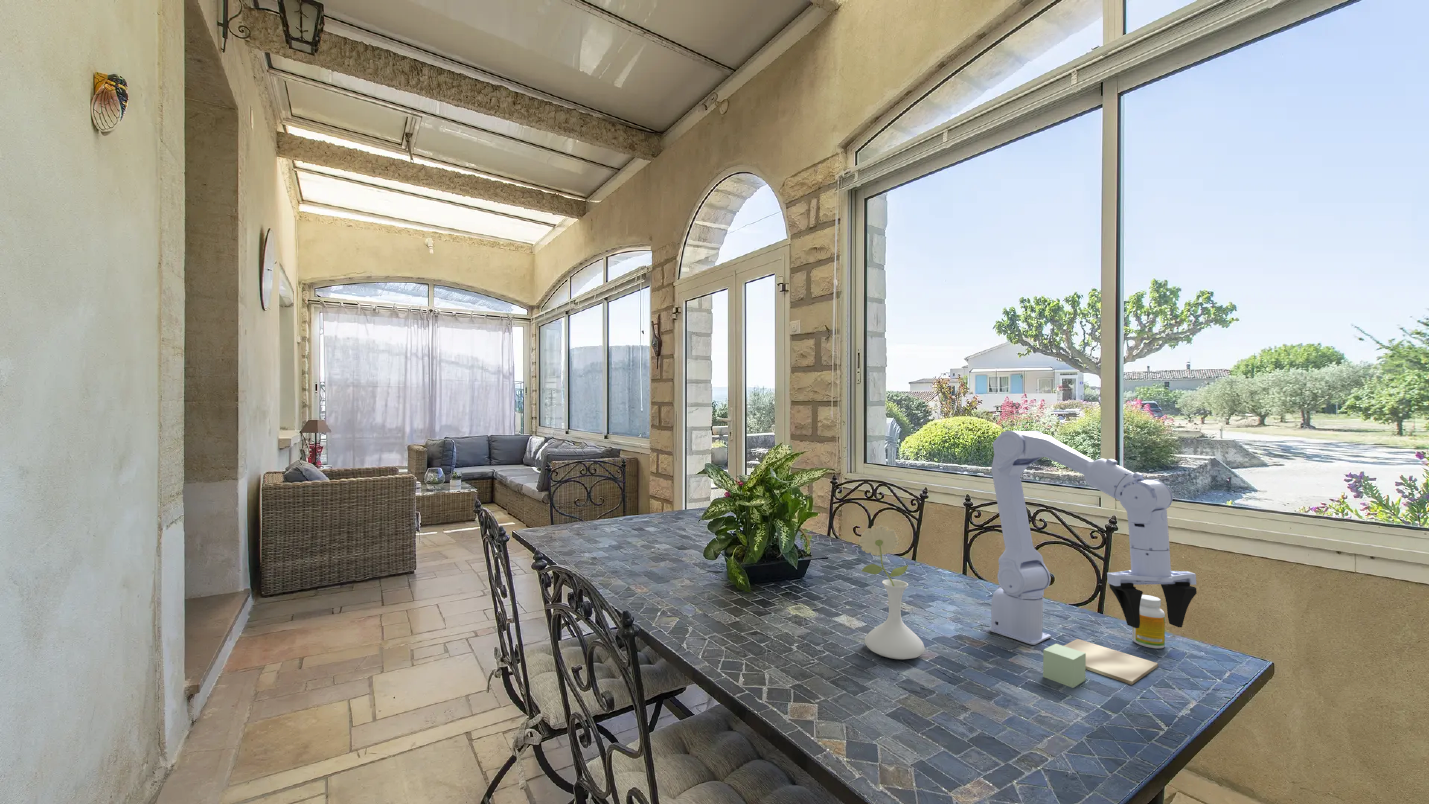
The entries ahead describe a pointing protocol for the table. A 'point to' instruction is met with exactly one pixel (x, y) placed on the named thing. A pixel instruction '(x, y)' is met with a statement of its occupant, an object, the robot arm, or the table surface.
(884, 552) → the flower in vase
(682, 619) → the table surface
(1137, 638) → the supplement bottle
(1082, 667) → the sage cube
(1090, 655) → the wooden board
